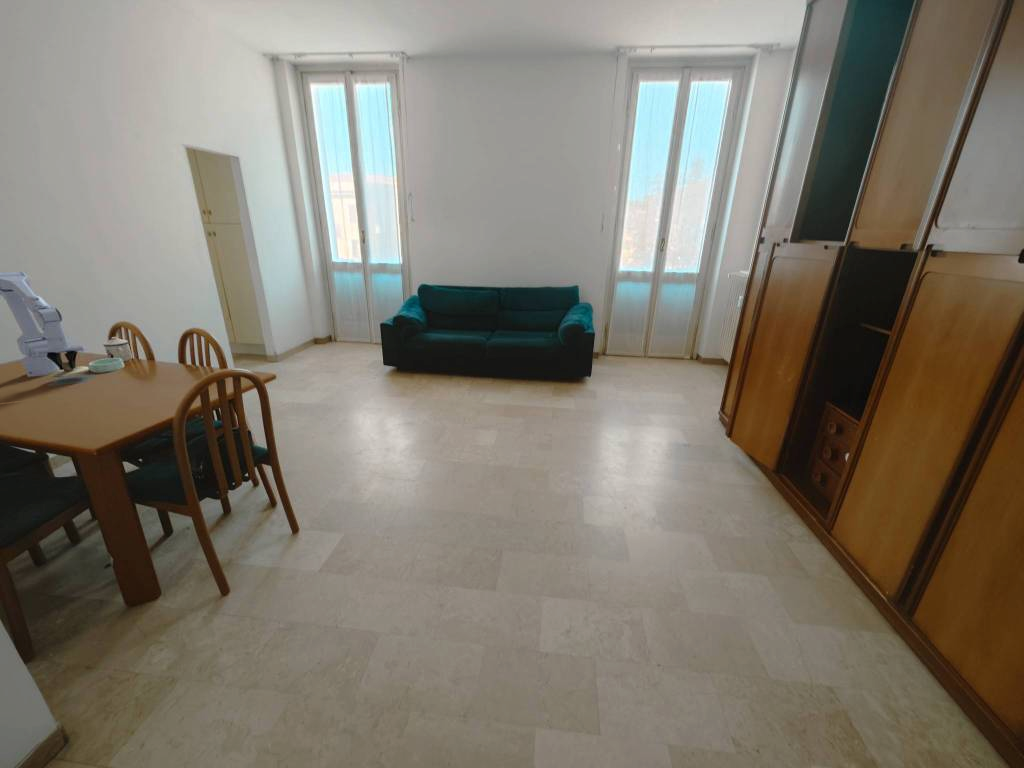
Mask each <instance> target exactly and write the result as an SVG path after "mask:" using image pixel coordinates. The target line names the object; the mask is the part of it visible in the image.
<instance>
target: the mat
mask: <svg viewBox="0 0 1024 768" xmlns="http://www.w3.org/2000/svg"><path fill="white" fill-rule="evenodd" d="M95 375H97V373H90V374H89V373H87V374H77V375H72V376H66V377H57V378H56V379H55V380H54V381H52V382H51V383H49V384H48V385H46V387H53V386H64V385H73V384H74V385H75V384H81V383H82V384H83V383H87V382H88V381H90V380H91V379H92V378H93V377H94V376H95Z"/></svg>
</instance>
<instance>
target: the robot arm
mask: <svg viewBox="0 0 1024 768" xmlns="http://www.w3.org/2000/svg"><path fill="white" fill-rule="evenodd" d="M30 285H31V281H30V279H29V277H28V275H27V274H26V273H25V272H24V271H16V272H15V271H14V272H13V271H12V272H0V296H2V297H3V299H4V300H5V302H6V304H7V305H8V308H9V309H10V311H11V314H12V315H13V317H14V319H15V320H16V322H17V324H18V327H19V329H20V331H21V332H22V334H21V335H20V336H19V337H18V338H17V339H16V343H17V346H18V349H19V351H20V353H21V354H22V355H23V357H22V358H21V363H22V366H23V368H24V370H25V373H26V375H27V378H31V377H42V376H49V375H48V373H50V372H52V371H55V370H58V369H60V370H63V367H62V365H61V363H63V362H64V361H63V360H62V355H61V354H62V353H64V354H63V355H64V356H65V358H66V360H67V362H69V364H70V367H71V369H74V368H76V367H77V366H76V359H77V355H78V352H85V351H86V350H87V349H86V346H85V345H70V344H69V341H68V338H67V336H66V333H65V330H64V328H63V325H62V321H63V316H62V313H61V312H60V311H59V309H58V308H57V307H54V306H52V305H49V303H48V302H47V301H45V300H44V298H42V297H41V296H39V295H36V294H35V293H34V292H33V290H32V289H31V288H30ZM31 313H32V314H33V315H32V314H31ZM36 323H37V324H38V326H37V324H36ZM38 327H39V328H40V329H41V330H42V331H40V330H39V328H38Z"/></svg>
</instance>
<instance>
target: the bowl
mask: <svg viewBox="0 0 1024 768" xmlns="http://www.w3.org/2000/svg"><path fill="white" fill-rule="evenodd" d="M88 367H89V370H90V371H91V372H92V373H106V372H107V373H108V372H113V371H117V370H120V369H123V368H124V367H125V361H123V359H121V358H103V359H97V360H93V361H90V362H89V363H88Z"/></svg>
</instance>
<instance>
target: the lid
mask: <svg viewBox="0 0 1024 768" xmlns="http://www.w3.org/2000/svg"><path fill="white" fill-rule="evenodd" d="M62 362H63V363H61V365H62V367H63V370H60V369H58V370H55V371H52V372H50V373H48V375H47V376H48V377H49V378H59V377H67V376H77V375H82V374H83V373H84V374H85V373H87V372H89V371H90V366H83V365H81V366H80V365H78V366H76V368H74V369H71V367H70V364H69V361H65V362H64V361H62Z"/></svg>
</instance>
